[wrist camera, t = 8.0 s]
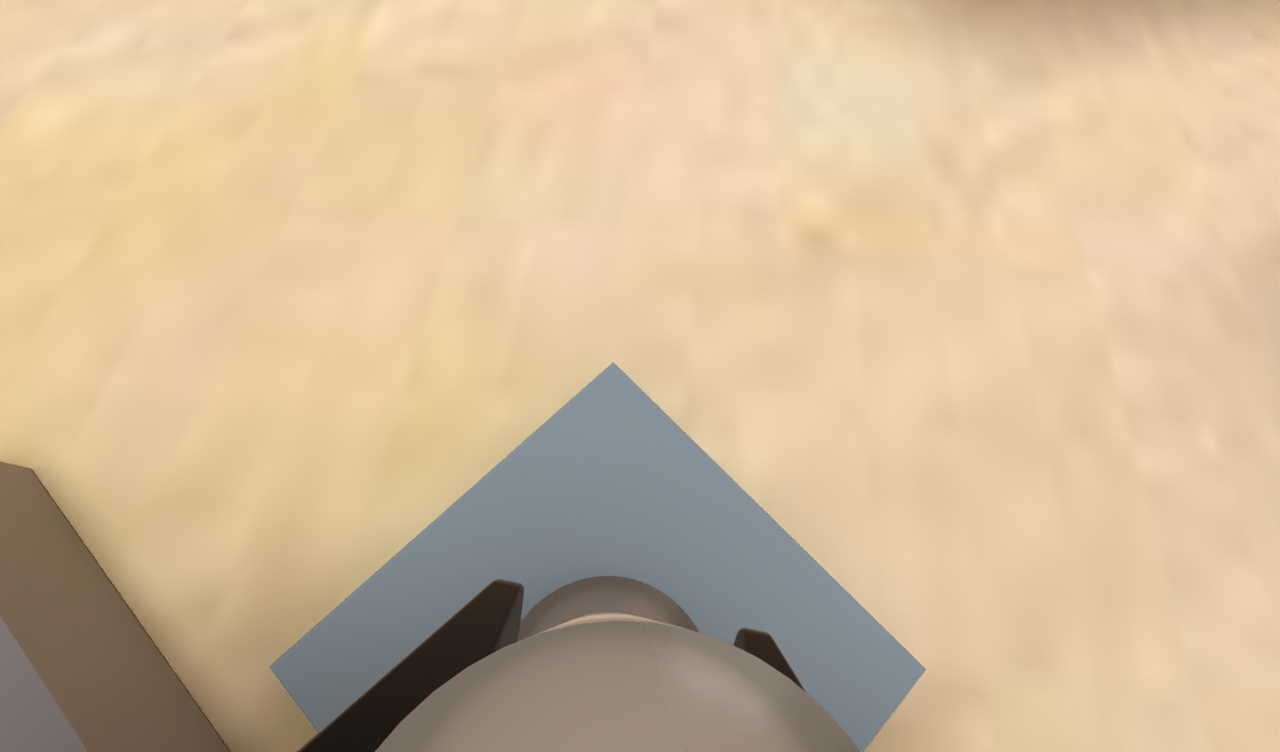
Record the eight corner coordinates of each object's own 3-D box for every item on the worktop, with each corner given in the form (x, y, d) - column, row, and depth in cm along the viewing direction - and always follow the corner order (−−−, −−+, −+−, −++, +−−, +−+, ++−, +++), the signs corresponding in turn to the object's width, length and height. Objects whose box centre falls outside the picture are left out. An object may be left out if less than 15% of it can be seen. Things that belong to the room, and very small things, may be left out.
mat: (908, 666, 18) (925, 669, 17) (596, 1071, 14) (595, 1103, 14) (612, 373, 20) (613, 362, 19) (287, 663, 17) (269, 666, 16)
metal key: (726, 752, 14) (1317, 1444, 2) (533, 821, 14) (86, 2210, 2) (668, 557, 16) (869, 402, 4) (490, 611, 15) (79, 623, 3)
